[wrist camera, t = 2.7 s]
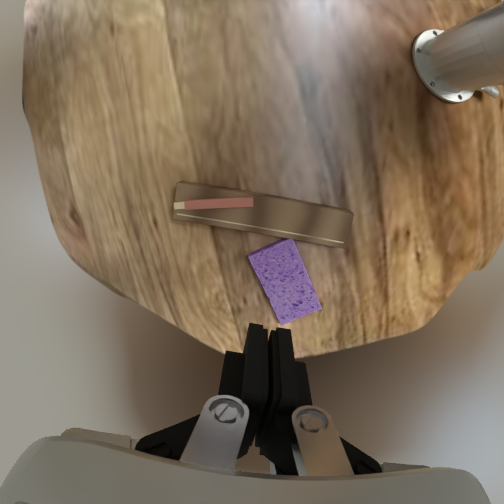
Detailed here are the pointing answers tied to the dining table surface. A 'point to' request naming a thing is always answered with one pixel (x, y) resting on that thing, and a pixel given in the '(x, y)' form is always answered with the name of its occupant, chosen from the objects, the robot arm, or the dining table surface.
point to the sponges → (285, 280)
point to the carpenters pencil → (214, 203)
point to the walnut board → (268, 215)
